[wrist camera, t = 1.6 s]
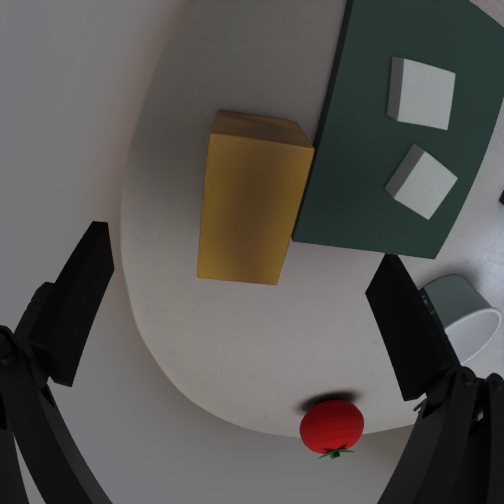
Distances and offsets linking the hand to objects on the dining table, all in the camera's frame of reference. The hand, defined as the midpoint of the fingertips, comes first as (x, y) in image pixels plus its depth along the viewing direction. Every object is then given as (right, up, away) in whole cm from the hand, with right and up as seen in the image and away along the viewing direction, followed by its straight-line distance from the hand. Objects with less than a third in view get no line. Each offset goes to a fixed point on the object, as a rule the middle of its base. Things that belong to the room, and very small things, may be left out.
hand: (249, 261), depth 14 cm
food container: (+22, -6, +16) cm, 28 cm away
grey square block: (+11, +11, +1) cm, 15 cm away
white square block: (+12, +6, +5) cm, 14 cm away
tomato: (+13, -24, +31) cm, 41 cm away
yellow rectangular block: (0, +5, +7) cm, 9 cm away
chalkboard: (+12, +10, +4) cm, 16 cm away
